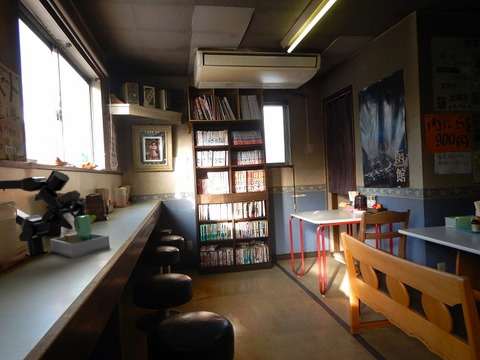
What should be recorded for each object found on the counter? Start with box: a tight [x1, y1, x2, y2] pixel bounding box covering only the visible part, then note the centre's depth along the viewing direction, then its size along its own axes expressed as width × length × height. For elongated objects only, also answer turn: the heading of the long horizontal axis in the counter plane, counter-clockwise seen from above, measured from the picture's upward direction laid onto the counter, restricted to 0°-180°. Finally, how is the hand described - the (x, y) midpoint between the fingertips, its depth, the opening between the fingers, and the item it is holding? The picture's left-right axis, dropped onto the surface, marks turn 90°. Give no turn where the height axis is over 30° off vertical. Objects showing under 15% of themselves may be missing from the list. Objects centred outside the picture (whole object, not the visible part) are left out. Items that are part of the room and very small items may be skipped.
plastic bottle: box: [60, 205, 77, 237], centre depth 137 cm, size 6×7×20 cm
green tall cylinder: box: [74, 214, 93, 243], centre depth 114 cm, size 5×5×13 cm
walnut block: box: [64, 231, 78, 244], centre depth 122 cm, size 5×5×5 cm
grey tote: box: [49, 232, 111, 259], centre depth 119 cm, size 22×14×5 cm, turn 50°
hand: (80, 226), depth 115 cm, fingers open, 9 cm apart
